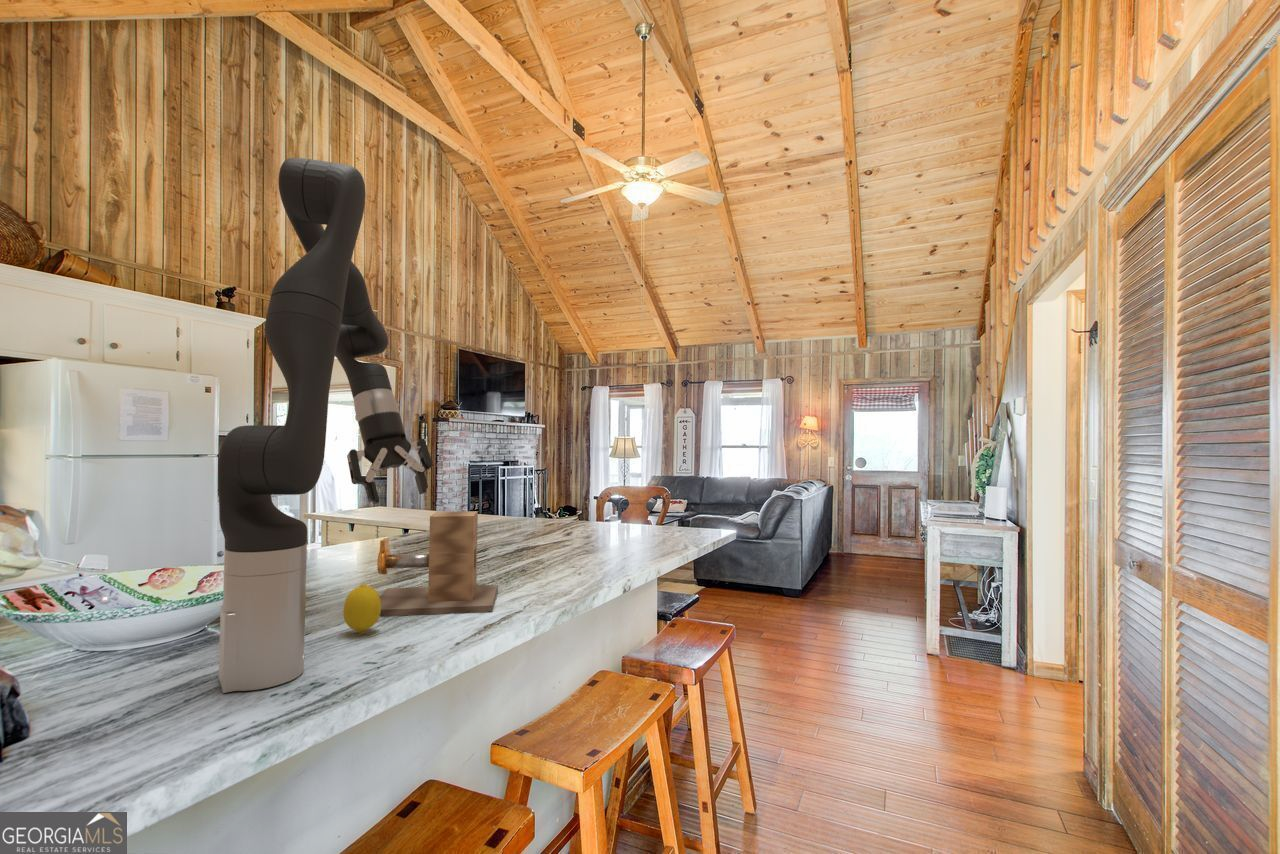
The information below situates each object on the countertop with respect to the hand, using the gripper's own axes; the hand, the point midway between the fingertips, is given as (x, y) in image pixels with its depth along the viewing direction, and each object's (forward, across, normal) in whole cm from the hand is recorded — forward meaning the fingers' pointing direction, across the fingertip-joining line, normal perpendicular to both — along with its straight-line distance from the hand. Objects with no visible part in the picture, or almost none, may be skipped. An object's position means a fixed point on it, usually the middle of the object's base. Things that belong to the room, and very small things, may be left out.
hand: (400, 498), depth 108 cm
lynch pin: (+14, +1, +8) cm, 16 cm away
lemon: (+21, -12, -3) cm, 25 cm away
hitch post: (+20, +4, +8) cm, 22 cm away
